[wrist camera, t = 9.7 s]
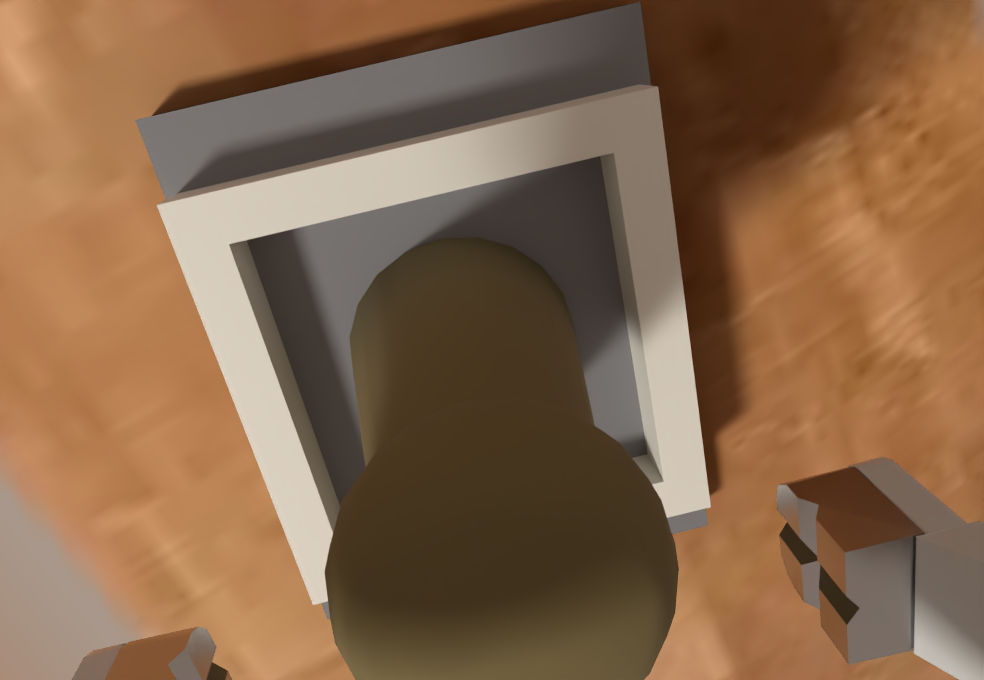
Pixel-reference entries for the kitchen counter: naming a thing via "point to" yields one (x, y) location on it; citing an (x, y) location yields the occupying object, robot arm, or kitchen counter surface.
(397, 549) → the olive knobbed peg
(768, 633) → the kitchen counter surface
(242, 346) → the notch board
